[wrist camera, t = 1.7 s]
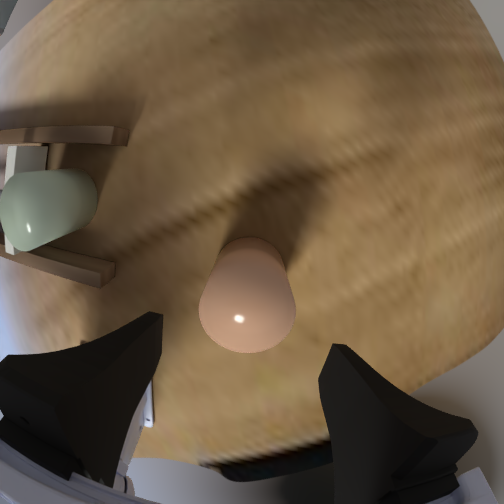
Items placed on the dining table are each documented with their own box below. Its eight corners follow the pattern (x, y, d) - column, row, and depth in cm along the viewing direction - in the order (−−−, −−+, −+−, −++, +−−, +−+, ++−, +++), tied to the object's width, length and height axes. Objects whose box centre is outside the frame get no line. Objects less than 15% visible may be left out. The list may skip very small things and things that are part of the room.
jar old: (95, 233, 20) (45, 258, 14) (51, 224, 20) (0, 244, 13) (100, 170, 18) (47, 174, 12) (54, 166, 18) (0, 171, 12)
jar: (275, 306, 21) (282, 358, 15) (210, 295, 21) (194, 343, 15) (290, 244, 20) (306, 278, 14) (220, 231, 20) (205, 259, 13)
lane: (114, 276, 21) (93, 294, 17) (-28, 233, 20) (-48, 241, 16) (129, 130, 18) (106, 124, 14) (-24, 135, 17) (-46, 136, 13)
